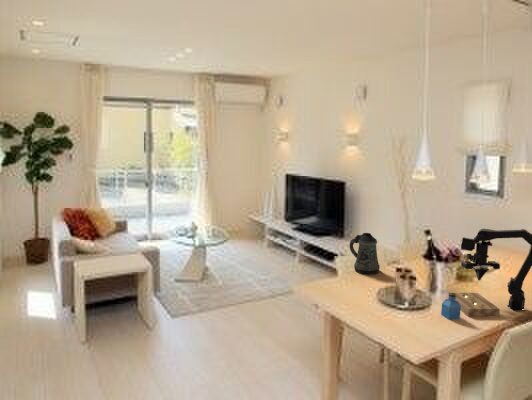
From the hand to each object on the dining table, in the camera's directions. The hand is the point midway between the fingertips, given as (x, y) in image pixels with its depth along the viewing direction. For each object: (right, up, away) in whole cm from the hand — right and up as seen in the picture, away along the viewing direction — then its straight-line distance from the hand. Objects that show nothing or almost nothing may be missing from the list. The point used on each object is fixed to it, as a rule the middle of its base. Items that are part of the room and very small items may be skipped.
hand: (478, 280), depth 236 cm
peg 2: (-7, -14, -12) cm, 19 cm away
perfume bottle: (-23, -15, -19) cm, 33 cm away
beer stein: (-51, -3, +51) cm, 72 cm away
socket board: (-7, -13, -7) cm, 16 cm away
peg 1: (-7, -12, -2) cm, 14 cm away
